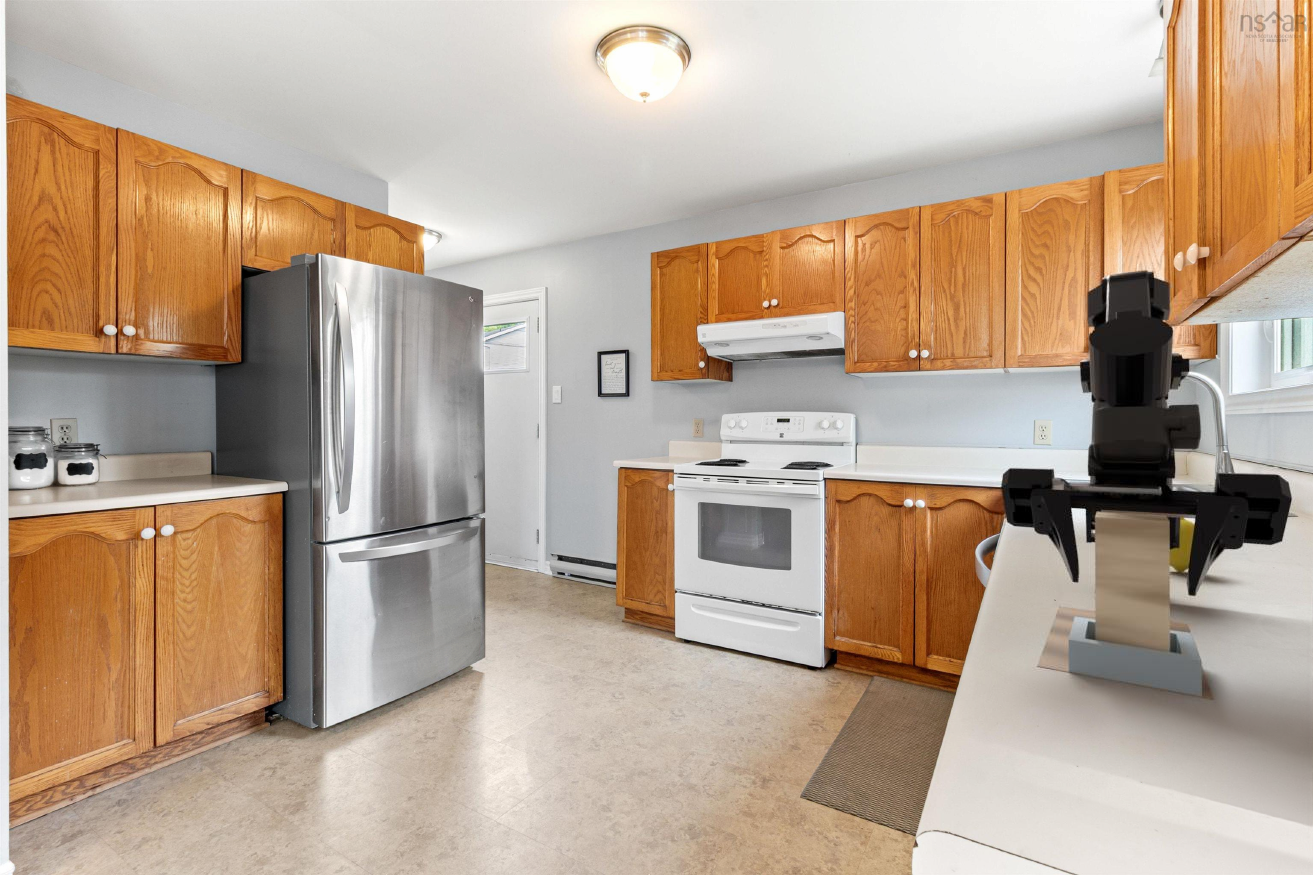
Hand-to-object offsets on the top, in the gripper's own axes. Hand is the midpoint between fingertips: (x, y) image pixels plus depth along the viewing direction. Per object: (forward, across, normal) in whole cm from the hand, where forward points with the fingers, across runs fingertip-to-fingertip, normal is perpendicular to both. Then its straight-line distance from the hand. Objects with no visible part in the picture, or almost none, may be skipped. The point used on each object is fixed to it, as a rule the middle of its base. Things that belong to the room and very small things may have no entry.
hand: (1131, 585), depth 48 cm
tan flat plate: (0, -1, +11) cm, 11 cm away
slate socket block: (+4, 0, +6) cm, 7 cm away
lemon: (-34, +6, +45) cm, 56 cm away
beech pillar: (+4, 0, +6) cm, 7 cm away
